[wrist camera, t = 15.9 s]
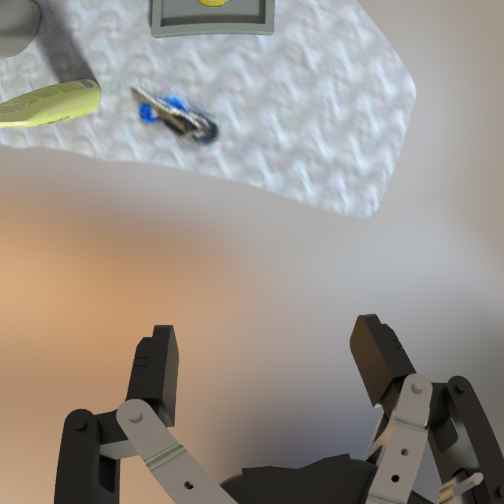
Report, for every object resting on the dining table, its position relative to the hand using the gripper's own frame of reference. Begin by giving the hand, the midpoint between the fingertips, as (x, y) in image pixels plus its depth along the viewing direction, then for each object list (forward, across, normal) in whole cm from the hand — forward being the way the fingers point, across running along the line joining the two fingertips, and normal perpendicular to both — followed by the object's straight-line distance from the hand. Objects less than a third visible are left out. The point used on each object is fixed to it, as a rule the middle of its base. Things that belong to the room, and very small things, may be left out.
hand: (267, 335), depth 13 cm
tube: (+30, +20, -10) cm, 38 cm away
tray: (+30, +3, -22) cm, 38 cm away
